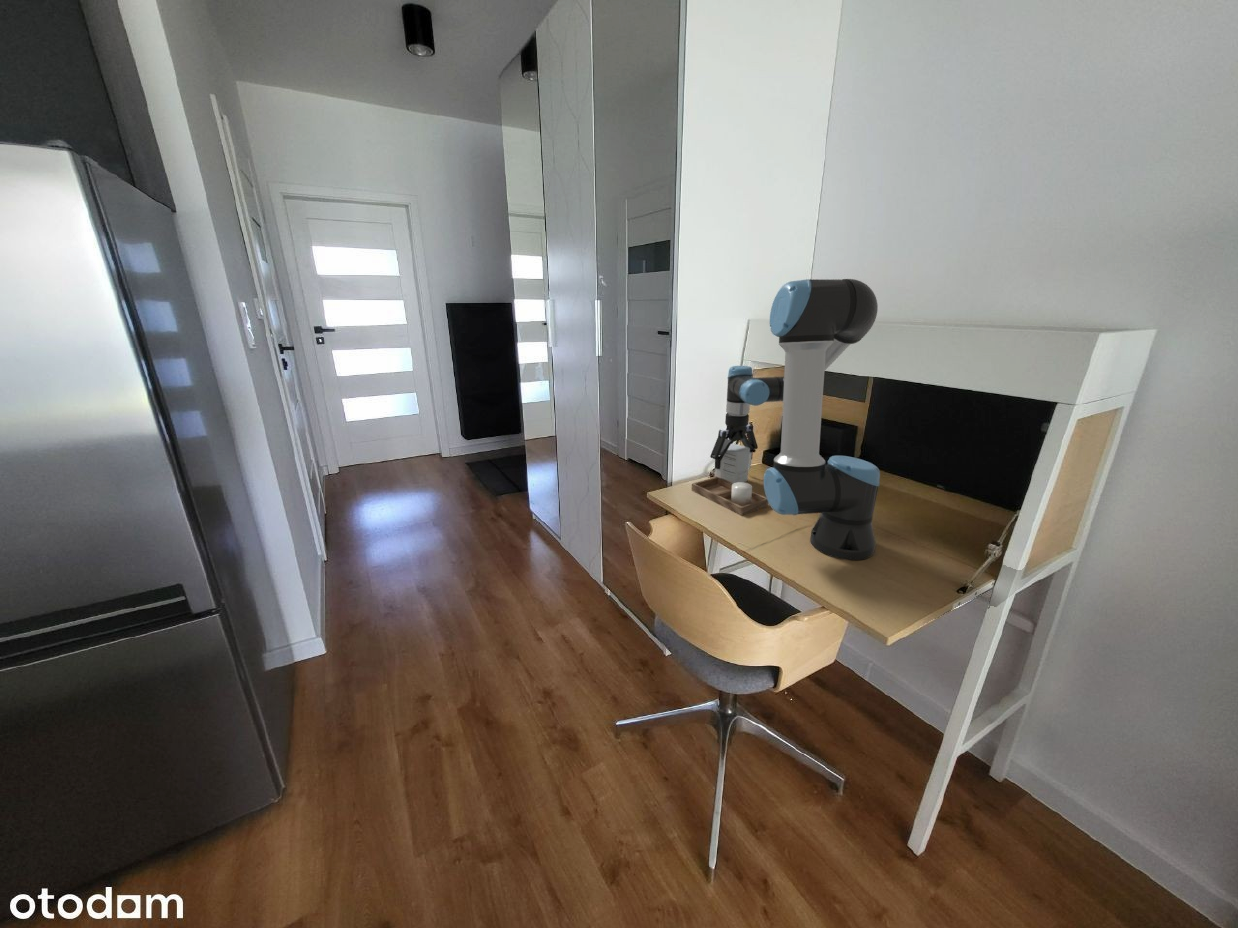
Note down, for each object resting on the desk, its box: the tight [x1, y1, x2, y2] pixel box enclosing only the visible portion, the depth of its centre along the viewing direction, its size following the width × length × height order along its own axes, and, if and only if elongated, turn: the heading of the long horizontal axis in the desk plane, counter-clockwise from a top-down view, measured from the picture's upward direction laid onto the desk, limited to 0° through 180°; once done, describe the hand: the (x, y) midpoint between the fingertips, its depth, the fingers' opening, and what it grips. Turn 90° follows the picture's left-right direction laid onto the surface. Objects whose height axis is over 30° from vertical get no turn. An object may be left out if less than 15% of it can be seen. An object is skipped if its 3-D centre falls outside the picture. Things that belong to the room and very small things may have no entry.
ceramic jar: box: [731, 482, 753, 506], centre depth 141 cm, size 6×6×6 cm
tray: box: [691, 476, 770, 516], centre depth 146 cm, size 22×12×3 cm, turn 32°
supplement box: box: [722, 443, 750, 483], centre depth 158 cm, size 7×7×13 cm
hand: (733, 473), depth 159 cm, fingers open, 13 cm apart
